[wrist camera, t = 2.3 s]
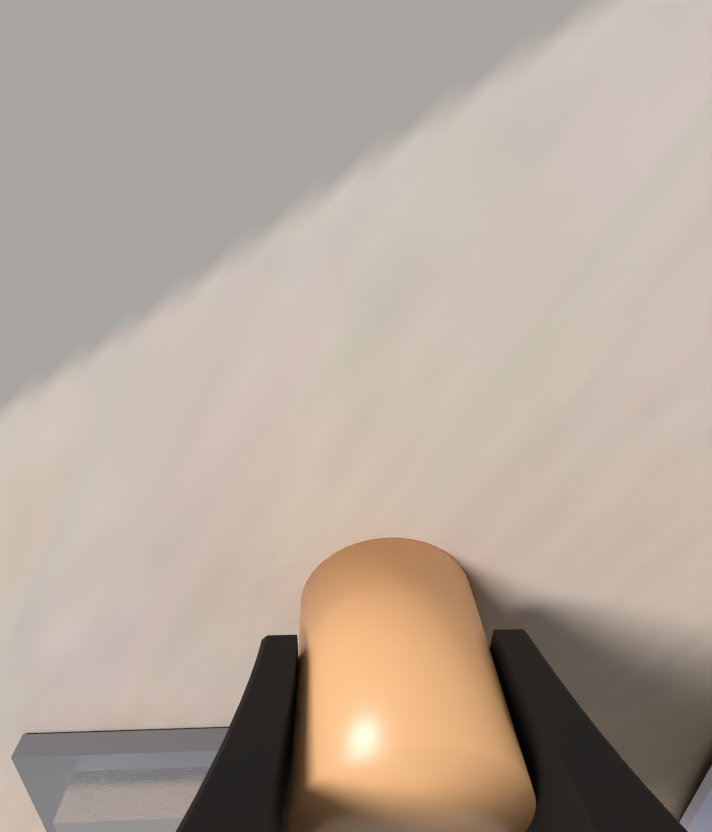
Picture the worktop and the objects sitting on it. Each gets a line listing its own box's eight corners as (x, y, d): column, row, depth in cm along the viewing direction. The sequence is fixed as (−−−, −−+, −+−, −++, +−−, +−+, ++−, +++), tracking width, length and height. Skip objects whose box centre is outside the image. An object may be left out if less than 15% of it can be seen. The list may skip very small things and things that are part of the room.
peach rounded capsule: (481, 536, 12) (557, 741, 8) (461, 658, 14) (514, 874, 10) (298, 539, 12) (282, 751, 8) (303, 663, 14) (292, 885, 10)
